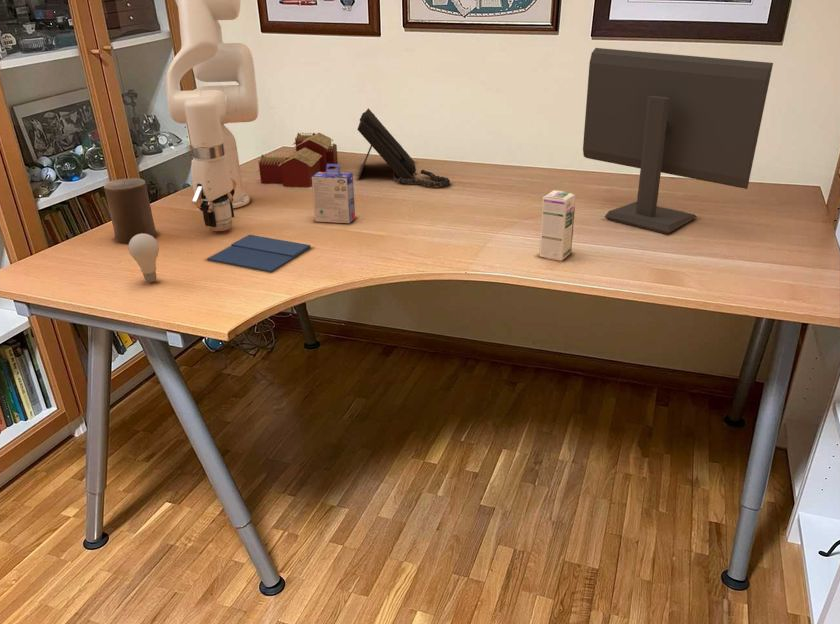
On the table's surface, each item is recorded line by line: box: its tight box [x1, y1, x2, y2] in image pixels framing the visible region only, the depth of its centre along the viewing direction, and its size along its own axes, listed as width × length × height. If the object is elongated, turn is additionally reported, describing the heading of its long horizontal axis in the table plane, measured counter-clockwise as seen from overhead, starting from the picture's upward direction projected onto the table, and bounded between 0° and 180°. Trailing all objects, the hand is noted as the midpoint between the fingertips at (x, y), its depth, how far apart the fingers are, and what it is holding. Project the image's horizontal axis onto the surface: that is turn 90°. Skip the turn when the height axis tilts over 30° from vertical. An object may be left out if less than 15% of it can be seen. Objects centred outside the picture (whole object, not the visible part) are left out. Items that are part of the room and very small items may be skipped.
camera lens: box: [206, 196, 233, 232], centre depth 179 cm, size 6×6×8 cm
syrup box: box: [539, 189, 577, 262], centre depth 161 cm, size 6×6×14 cm
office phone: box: [357, 107, 451, 188], centre depth 219 cm, size 29×28×20 cm
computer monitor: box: [582, 47, 774, 235], centre depth 176 cm, size 44×16×40 cm, turn 47°
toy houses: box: [255, 132, 339, 188], centre depth 232 cm, size 45×20×10 cm, turn 173°
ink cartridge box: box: [311, 163, 356, 224], centre depth 185 cm, size 10×6×14 cm, turn 78°
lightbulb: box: [127, 234, 160, 284], centre depth 152 cm, size 6×6×11 cm
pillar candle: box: [103, 177, 157, 244], centre depth 176 cm, size 10×10×15 cm
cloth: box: [207, 234, 311, 273], centre depth 168 cm, size 18×16×1 cm
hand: (219, 220), depth 181 cm, fingers closed on camera lens, 6 cm apart
